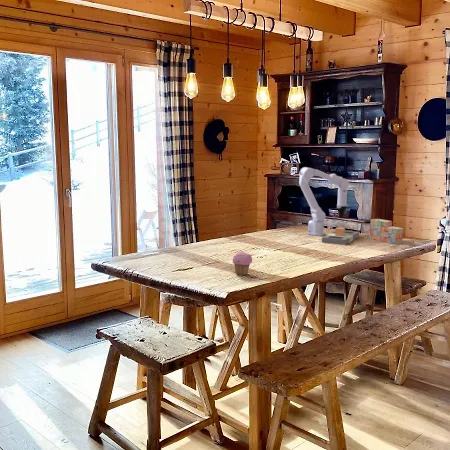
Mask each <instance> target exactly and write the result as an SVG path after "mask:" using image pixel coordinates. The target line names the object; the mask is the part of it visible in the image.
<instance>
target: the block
mask: <svg viewBox="0 0 450 450" xmlns="http://www.w3.org/2000/svg"><path fill="white" fill-rule="evenodd" d="M345 231H346V228H345V227H341V226H340V227H336V228H335V230H334V232H335V236H344V235H345Z"/></svg>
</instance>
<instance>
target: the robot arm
mask: <svg viewBox="0 0 450 450" xmlns="http://www.w3.org/2000/svg"><path fill="white" fill-rule="evenodd" d="M298 175H299V178H298V179H299V181H298V184H299V187H300V189H301V191H302V193H303V196H304V197H305V199H306V201H307V204H308V206H309V207H310V214H311V218H312V220H311V219H310V220H309V221H308V225H307V235H313V236H320V237H321V236H322V237H323V236H324V235H326V232H324V227H325V225H324V224H325V219H326V213H325V211H323V209H322V207H320V206H319V204H318V202H317V200H316V198H315V195H314V193H313V191H312V189H311V188H310V185H309V183H310V181H311V180H312V178H313V177H320V178H323V179H324V180H327V182H328V183H330V184H333V185H335V186H337V187H338V189H337V204H336V210H337V212H338V218H339V219H343V218H345V217H344V216H345V213H346V210H347V208H348V207H347V206H349V204H347V199H348V188H349V186H350V182H349V179H346V178H343V176H339V175H337V174H336V173H329V174H328V173H326V172H324V171H321V170H319V169H317V168H316V169H315V168H312V167H307V166H304V167H302V168H300V170H299V173H298Z"/></svg>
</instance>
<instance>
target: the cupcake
mask: <svg viewBox="0 0 450 450" xmlns="http://www.w3.org/2000/svg"><path fill="white" fill-rule="evenodd" d="M252 263H253V257H252V255H251V253H250V254H249V253H247V252H243V251H240V252H236V253H235V255H234V256H233V257H232V264H234V272H235V274H236V275H238V276H245V275H247V274H248V273H249V269H250V266H251V265H250V264H252Z"/></svg>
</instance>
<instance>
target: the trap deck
mask: <svg viewBox="0 0 450 450" xmlns="http://www.w3.org/2000/svg"><path fill="white" fill-rule="evenodd" d="M358 238H360V231H353V230H352V231H351V230H345V235H344V236H335V231H333V232H329V234H325V236H324V235H323V236H322V237H321V243H324V244H332V245H333V244H335V245H343V246H346V245H348V244H349V243H351V242H353V241H354V240H356V239H358Z"/></svg>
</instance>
